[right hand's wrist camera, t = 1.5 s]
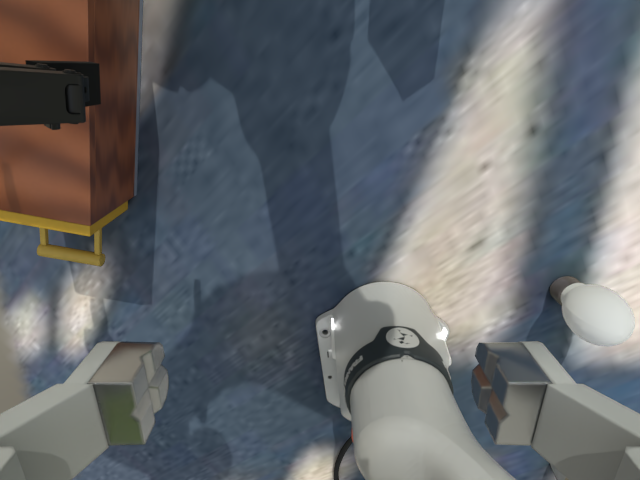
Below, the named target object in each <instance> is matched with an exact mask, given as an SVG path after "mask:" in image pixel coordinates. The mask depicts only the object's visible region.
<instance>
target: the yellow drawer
mask: <svg viewBox="0 0 640 480" xmlns="http://www.w3.org/2000/svg"><path fill="white" fill-rule="evenodd" d="M127 209H128V201H127V202H125V203H124V204H122V205H121V206H119V207H118V208H116V209H115V210H113V211H112V212H110V213H109V214H108V215H106V216H105V217H103V218H102V219H100V220H99V221H97V222H96V223H94V224H93V225H91V226H87V225H82V224H76V223H71V222H65V221H60V220H54V219H49V218H43V217H38V216H32V215H27V214H21V213H15V212H10V211H4V210H0V221H6V222H11V223H17V224H23V225H28V226H34V227H39V228H40V242H41V244H40V245H39V246H38V248H37V254H38V255H39V256H44V257H50V258H55V259H61V260H67V261H73V262H78V263H84V264H90V265H96V266H102V265H103V264H104V262H105V255H104V254H101V253H102V227H104V226H105V225H107V224H108V223H109V222H111V221H112V220H113V219H115V218H116V217H118V216H119V215H120V214H122V213H123V212H124V211H126V210H127ZM48 229H51V230H56V231H62V232H67V233H73V234H79V235H84V236H91V235H93V234H94V252H90V251H84V250H79V249H73V248H67V247H62V246H56V245H50V244H49V241H48Z"/></svg>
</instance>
